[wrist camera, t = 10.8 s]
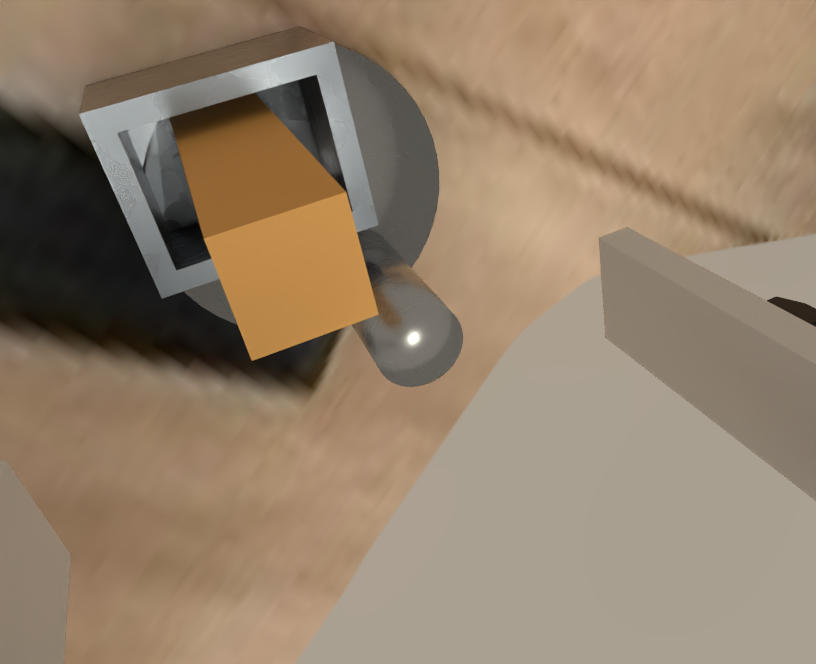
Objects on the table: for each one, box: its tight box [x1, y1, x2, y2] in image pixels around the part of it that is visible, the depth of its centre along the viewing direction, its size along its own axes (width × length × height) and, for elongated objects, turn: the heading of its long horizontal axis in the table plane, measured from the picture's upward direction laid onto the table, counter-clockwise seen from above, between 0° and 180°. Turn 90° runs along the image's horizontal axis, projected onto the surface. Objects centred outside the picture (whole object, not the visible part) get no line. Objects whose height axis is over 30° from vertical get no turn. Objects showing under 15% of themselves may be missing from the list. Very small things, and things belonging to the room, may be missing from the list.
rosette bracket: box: [79, 26, 463, 387], centre depth 32 cm, size 15×15×11 cm
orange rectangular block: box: [170, 93, 379, 361], centre depth 27 cm, size 4×4×16 cm
